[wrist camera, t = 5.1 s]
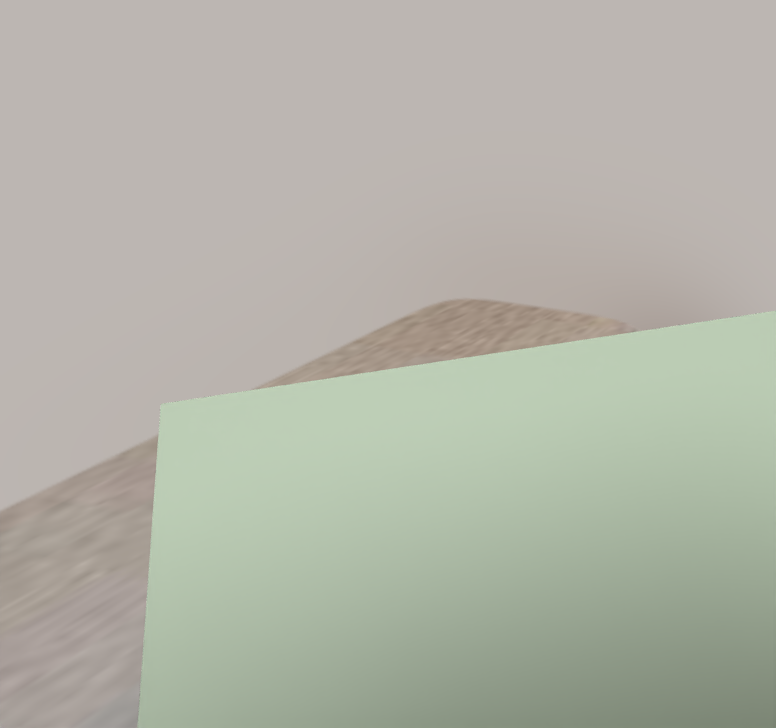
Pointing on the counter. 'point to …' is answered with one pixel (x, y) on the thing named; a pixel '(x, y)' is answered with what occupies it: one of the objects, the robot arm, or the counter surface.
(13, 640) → the counter surface
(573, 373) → the carton
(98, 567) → the counter surface
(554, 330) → the counter surface
